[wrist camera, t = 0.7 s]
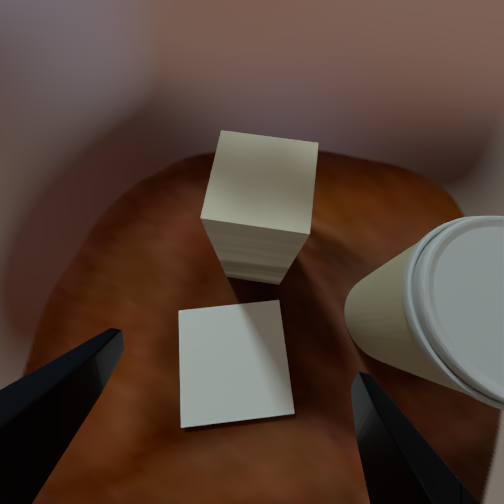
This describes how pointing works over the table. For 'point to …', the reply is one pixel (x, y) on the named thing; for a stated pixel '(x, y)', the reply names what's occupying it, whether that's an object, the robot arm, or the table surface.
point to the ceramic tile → (233, 364)
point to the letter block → (259, 204)
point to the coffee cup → (439, 309)
